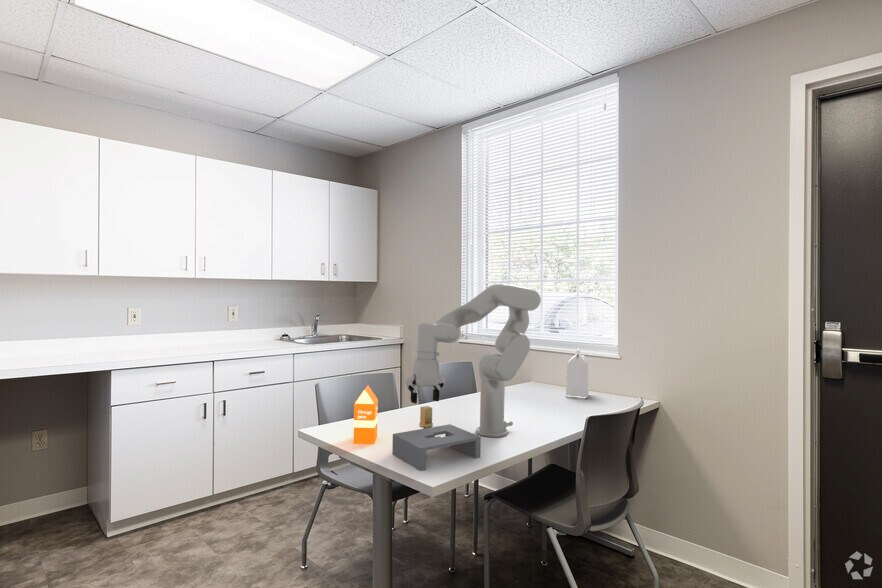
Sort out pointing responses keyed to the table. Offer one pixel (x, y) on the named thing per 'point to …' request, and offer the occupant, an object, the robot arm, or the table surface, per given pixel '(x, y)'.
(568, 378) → the milk
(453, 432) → the keyhole board
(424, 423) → the brass peg
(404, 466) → the table surface
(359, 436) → the orange juice
